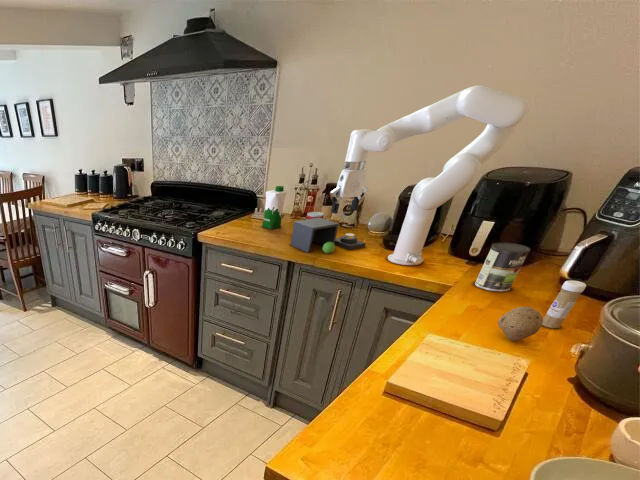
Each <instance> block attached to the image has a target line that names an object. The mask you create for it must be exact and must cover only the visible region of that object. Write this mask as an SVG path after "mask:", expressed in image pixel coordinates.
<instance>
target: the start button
mask: <svg viewBox="0 0 640 480" xmlns="http://www.w3.org/2000/svg"><path fill="white" fill-rule="evenodd" d="M355 235H356V234H355V233H351V232H349V233H347V232H346V233H344V236H345V237H344V238H346V239H354V236H355ZM355 237H356V236H355Z"/></svg>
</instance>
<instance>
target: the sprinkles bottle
mask: <svg viewBox="0 0 640 480" xmlns="http://www.w3.org/2000/svg"><path fill="white" fill-rule="evenodd" d="M586 287H587V284H586V283H584V282H582V281H579V280H572V279H570V280H566V281H564V282H563V284H562V286H561V289H560V291H559V292H558V294H557V296H556V297H555V298H554V301H553V302H552V304H551V305H550V306H549V308H548V310H547V312H546V314H545V315H544V317H543V323H542V326H544V327H546V328H550V329H560V328H561V327H562V324H563V322H564V321H565V320H566V319H567V317H568V315H569V314H570V311H571V310H572V309H573V307H574V305H575V304H576V302H577V300H578V299H579V298H580V296H581V294H582V293H583V292H584V291H585V289H586Z"/></svg>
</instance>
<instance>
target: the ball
mask: <svg viewBox="0 0 640 480" xmlns="http://www.w3.org/2000/svg"><path fill="white" fill-rule="evenodd" d="M335 249H336V245H335V244H334V243H332V242H327V243H325V244H324V245H322V251H323V253H325V254H332V253H333V252H334V251H335Z"/></svg>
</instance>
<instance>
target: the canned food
mask: <svg viewBox="0 0 640 480" xmlns="http://www.w3.org/2000/svg"><path fill="white" fill-rule="evenodd" d="M313 218H323V219H325V212H322V211H309V212H307V214H306V219H305V220H307V219H313Z"/></svg>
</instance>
